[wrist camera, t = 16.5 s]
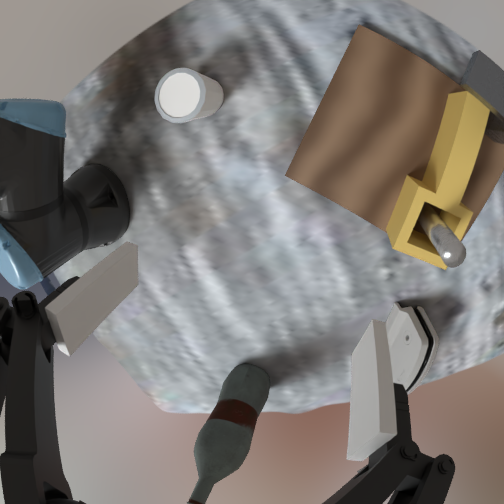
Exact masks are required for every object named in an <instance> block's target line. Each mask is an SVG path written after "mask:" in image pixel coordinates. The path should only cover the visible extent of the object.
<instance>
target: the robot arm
mask: <svg viewBox="0 0 504 504" xmlns="http://www.w3.org/2000/svg"><path fill="white" fill-rule="evenodd" d="M65 121H66V111H65V108H64V106H63V105H62V104H61V103H59V102H57V101H50V100H41V99H0V272H1V274H2V275H3V276H4V277H5V279H6V280H7V281H8V282H9V283H11V284H12V285H13V286H14V287H16V288H18V289H27V288H29V287H30V286H32V285H34V284H35V283H37V282H38V281H42V280H43V279H44V278H45V277H47V276H48V275H49V274H51V273H52V272H53V271H55V270H56V269H57V268H59V267H60V266H62V265H63V264H64V263H66V262H67V261H69V260H70V259H71V258H73V257H74V256H76V255H77V254H79V253H80V252H82V251H83V250H87V249H92V248H96V247H103V246H108V245H110V244H112V243H113V242H115V241H117V240H118V239H119V238H121V237H122V236H123V234H124V233H125V231H126V229H127V226H128V223H129V203H128V199H127V195H126V192H125V190H124V188H123V186H122V184H121V182H120V181H119V179H118V178H117V176H116V175H115V174H114V173H113V172H112V171H111V170H109V169H108V168H106V167H105V166H102V165H99V164H91V165H88V166H85V167H82V168H80V169H78V170H76V171H75V172H74V173H73V174H72V175H71V176H70V177H69V178H68V179H67V180H66V181H64V182H63V169H64V145H65V138H66V133H65ZM137 286H138V245H135V244H132V243H130V242H126V243H124V244H123V245H122V246H120V247H119V248H118V249H116V250H115V251H114V252H112V253H111V254H110V255H108V256H107V257H106V258H104V259H103V260H102V261H101V262H99V263H98V264H97V265H96V266H94V267H93V268H92V269H90V270H89V271H88V272H87V273H85V274H84V275H83V276H82V277H78V276H76V277H73V278H71V279H68V280H67V281H66V282H64V283H63V284H62V285H61V286H60V287H58V288H57V289H56V291H53V292H52V293H51V294H50V295H48V296H47V297H46V298H45V299H44V300H43V301H41V303H39V304H38V303H37V300H36V296H35V295H34V294H33V293H32V292H30V291H22V292H20V293H18V294H16V295H15V296H14V297H13V299H12V304H13V307H10V305H9V302H8V300H7V299H6V298H4V297H0V415H1V411H2V407H3V403H4V399H5V396H6V402H5V440H6V451H5V452H4V453H2V454H1V456H0V471H1V480H2V487H3V494H4V500H5V504H86V503H84V502H82V501H79V502H78V501H75V500H73V498H72V494H71V490H70V487H69V484H68V482H67V480H66V478H65V476H64V474H63V469H62V464H61V458H60V451H59V444H58V437H57V428H56V419H55V418H56V417H55V403H54V380H53V379H54V378H53V355H54V350H53V345H54V343H55V342H57V345H58V348H59V350H60V351H62V352H63V353H65V354H66V355H68V356H71V355H72V354H73V353H74V352H75V351H76V350H77V348H78V347H79V346H80V345H81V344H82V343H83V342H84V341H85V340H86V339H87V338H88V337H89V335H90V334H91V333H92V332H93V331H94V330H95V329H96V328H97V327H98V326H99V325H100V324H101V323H102V322H103V321H104V319H105V318H106V317H107V316H108V315H109V314H110V313H111V312H112V311H113V310H114V309H115V308H116V307H117V306H118V305H119V304H120V303H121V302H122V301H123V300H124V299H125V298H126V297H127V296H128V295H129V294H130V293H131V292H132V291H133V290H134V289H135V288H136V287H137ZM368 457H369V464H368V465H366V466H365V467H364V468H362V469H360V470H359V471H358V474H357V475H355V476H354V477H353V478H352V479H351V480H350V481H349V482H348V483H347V484H345V485H344V486H343V487H342V488H341V489H340V490H338V491H337V492H336V493H335V494H334V495H332V496H331V497H330V498H329V499H327V500H326V501H325V502H324V503H322V504H383V502H384V501H385V500H386V499H387V498H388V497H389V496H390V495H391V494H392V492H393V491H394V490H395V491H394V493H393V495H392V496H391V498H390V500H389V502H388V504H443V503H444V501H445V498H446V496H447V493H448V490H449V487H450V484H451V481H452V478H453V475H454V472H455V464H454V461H453V459H452V458H451V457H450V456H448V455H445V454H442V455H439V456H438V457H436V458H432V457H430V456H427V455H425V454H423V453H421V452H420V450H419V447H418V445H417V444H416V443H415V442H413V441H412V436H411V424H410V413H409V405H408V394H407V392H406V390H405V388H404V386H403V384H397V383H393V375H392V367H391V359H390V351H389V344H388V337H387V331H386V325H385V322H381V321H377V320H374V319H372V321H371V322H370V324H369V326H368V328H367V329H366V331H365V333H364V335H363V336H362V338H361V340H360V341H359V343H358V345H357V346H356V348H355V350H354V351H353V353H352V354H351V403H350V423H349V437H348V450H347V460H354V461H363V460H365V459H366V458H368Z"/></svg>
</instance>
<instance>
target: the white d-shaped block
mask: <svg viewBox="0 0 504 504" xmlns="http://www.w3.org/2000/svg"><path fill="white" fill-rule="evenodd" d="M385 325H386V331H387V337H388V344H389V351H390V359H391V367H392V375H393V383H397V384H403V386H404V388H405V390H406V392H407V394H410V393H411V392H412V391H413V390H414V389H415V388H416V387H417V386H418V385H419V384H420V383H421V381H422V380H423V379H424V377H425V376H426V374H427V372H428V371H429V369H430V367H431V365H432V363H433V360H434V358H435V355H436V352H437V349H438V346H439V337H438V335H437V333H436V331H435V329H434V328H433V326H432V324H431V322H430V320H429V318H428V316H427V314H426V313H425V311H424V309H423V308H422V307H420V306H417V308H416V309H415V311H414V309H413V308H412V307H411V306H410V307H405V308H401V307H400V305H399V304H398V303H396V302H395V303H394V306H393V308H392V310H391V312H390V314H389V317H388V319H387V321H386V323H385Z"/></svg>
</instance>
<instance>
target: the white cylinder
mask: <svg viewBox="0 0 504 504" xmlns="http://www.w3.org/2000/svg"><path fill="white" fill-rule="evenodd" d="M223 96H224V93H223V90H222V87H221V86H220V84H219V83H218V82H217V81H215V80H213V79H211V78H209V77H207V76H205V75H202V74H200V73H198V72H196V71H193V70H191V69H189V68H176V69H174V70H172V71H170V72H167V73H166V74H165V75H164V76H163V78H162V79H161V80H160V81H159V83H158V86H157V88H156V90H155V104H156V108H157V111H158V112H159V113H160V115H161V116H162V117H163V118H164V119H166V120H168V121H170V122H171V123H184V122H187V121H191V120H195V119H199V118H202V117H206V116H209V115H212V114H214V113H215V112H216V111H217V110H219V108H220V106H221V105H222V103H223Z"/></svg>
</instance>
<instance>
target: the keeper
mask: <svg viewBox="0 0 504 504" xmlns="http://www.w3.org/2000/svg"><path fill="white" fill-rule="evenodd" d="M460 86H462V87H463V88H464V89H465V90H467V91H468V92H469V93H470V94H472V95H473V96H474V97H475V98H476V99H478V100H479V101H480V102H481V103H482V104H483V105H485V106H486V107H487V108H488V109H489V110H490V112H489V116H488V120H487V124H486V128H485V132H484V133H485V134H486V135H487V136H488V137H489V138H491V139H492V140H493V141H494V142H496V143H500V144H504V71H503V70H502V69H501V68H500V67H499V66H498V65H496V64H495V63H494V62H493V61H492V60H491V59H490V58H488V57H487V56H486V55H485V54H484V53H482V52H481V51H480V50H478V51H476V52H474V53H473V54H472V57H471V60H470V62H469V65H468V67H467V69H466V72H465V74H464V77H463V79H462V81H461V84H460Z"/></svg>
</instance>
